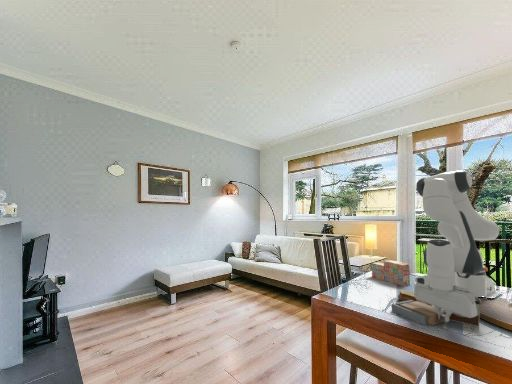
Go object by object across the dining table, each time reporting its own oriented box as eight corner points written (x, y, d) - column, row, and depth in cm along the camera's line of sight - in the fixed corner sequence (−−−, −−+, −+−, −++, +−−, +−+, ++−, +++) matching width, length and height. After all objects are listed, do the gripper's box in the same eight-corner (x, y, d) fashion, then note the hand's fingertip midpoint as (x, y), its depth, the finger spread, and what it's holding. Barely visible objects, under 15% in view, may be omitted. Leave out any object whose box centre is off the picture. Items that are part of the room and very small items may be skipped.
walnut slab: (417, 310, 106) (417, 300, 106) (448, 321, 95) (447, 311, 95) (400, 314, 102) (399, 304, 102) (429, 326, 90) (429, 315, 91)
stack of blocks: (371, 277, 157) (371, 258, 158) (378, 276, 160) (377, 257, 161) (403, 286, 138) (402, 264, 139) (410, 285, 141) (409, 263, 142)
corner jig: (411, 306, 108) (411, 299, 109) (445, 320, 95) (445, 312, 95) (391, 310, 104) (391, 303, 104) (424, 325, 91) (424, 317, 91)
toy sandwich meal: (431, 310, 105) (430, 299, 105) (396, 303, 113) (395, 293, 114) (433, 302, 114) (433, 292, 115) (400, 296, 123) (400, 286, 123)
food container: (483, 322, 93) (481, 295, 94) (484, 328, 89) (482, 300, 89) (443, 313, 101) (442, 289, 102) (442, 318, 97) (440, 292, 98)
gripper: (479, 290, 84) (482, 331, 83) (421, 275, 103) (422, 309, 102) (468, 292, 82) (471, 334, 81) (410, 277, 101) (412, 311, 100)
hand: (443, 320), depth 91 cm, fingers closed
